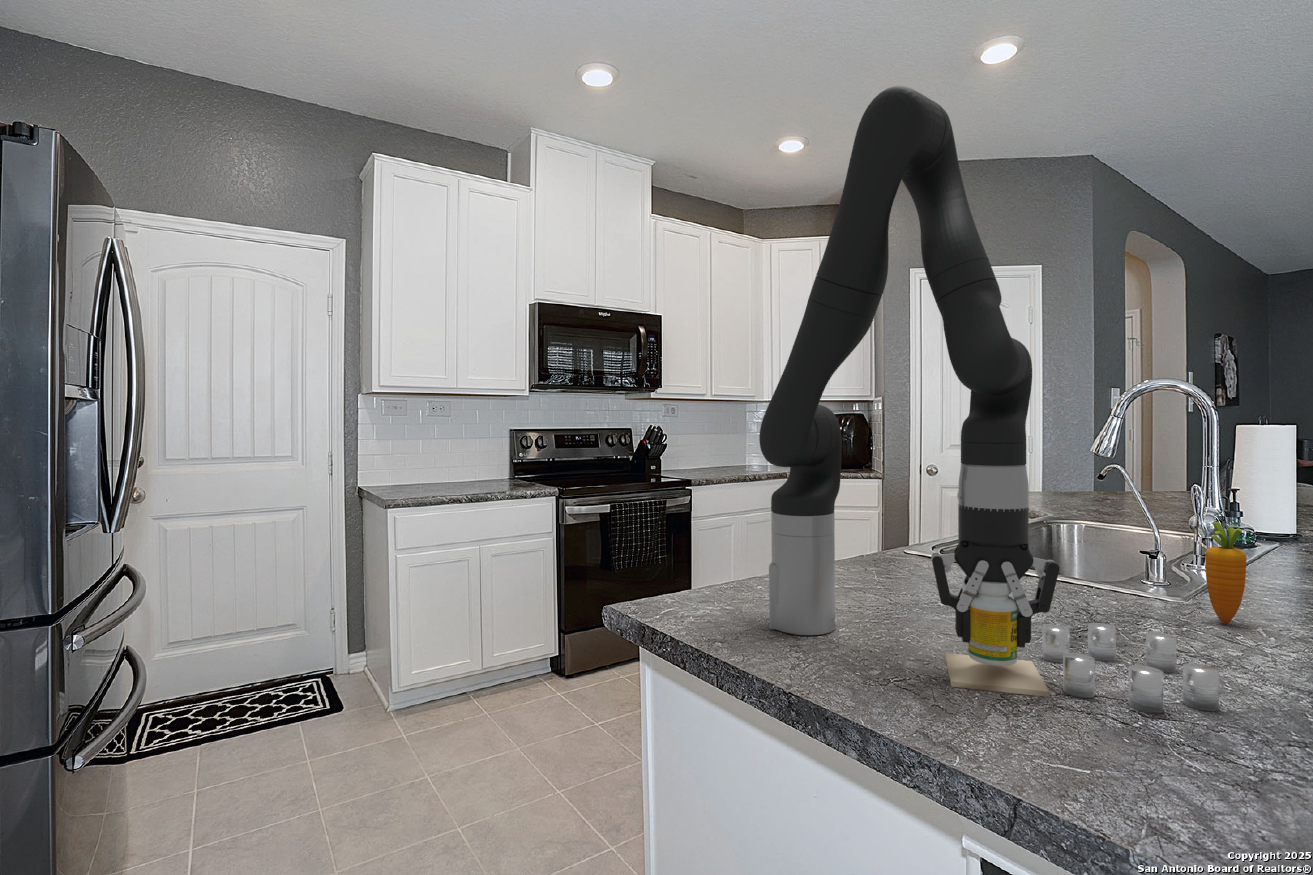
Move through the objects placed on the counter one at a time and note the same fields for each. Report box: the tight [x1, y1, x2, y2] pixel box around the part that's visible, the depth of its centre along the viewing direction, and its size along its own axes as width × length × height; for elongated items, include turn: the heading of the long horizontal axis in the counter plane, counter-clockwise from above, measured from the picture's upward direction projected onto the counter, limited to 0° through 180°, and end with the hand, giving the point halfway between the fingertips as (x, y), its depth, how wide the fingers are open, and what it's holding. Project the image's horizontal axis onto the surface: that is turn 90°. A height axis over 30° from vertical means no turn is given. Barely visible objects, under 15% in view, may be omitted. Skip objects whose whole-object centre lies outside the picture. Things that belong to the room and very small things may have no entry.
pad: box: [944, 652, 1051, 698], centre depth 81 cm, size 10×10×1 cm
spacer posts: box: [1041, 622, 1220, 714], centre depth 80 cm, size 14×19×4 cm
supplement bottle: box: [967, 581, 1018, 666], centre depth 81 cm, size 5×5×10 cm
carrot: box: [1204, 521, 1247, 626], centre depth 100 cm, size 5×5×15 cm
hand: (992, 642), depth 81 cm, fingers closed on supplement bottle, 5 cm apart
